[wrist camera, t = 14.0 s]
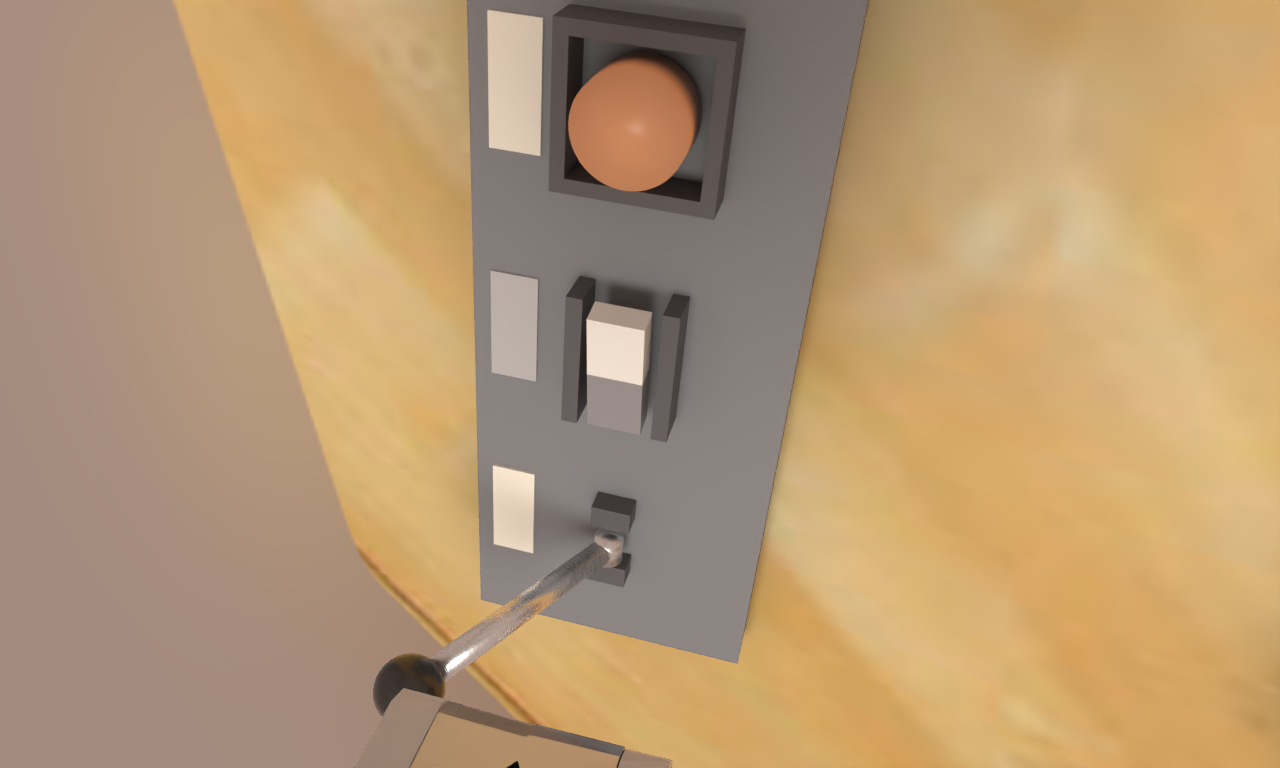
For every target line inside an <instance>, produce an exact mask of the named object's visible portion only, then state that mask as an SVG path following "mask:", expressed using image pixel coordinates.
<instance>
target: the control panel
mask: <svg viewBox="0 0 1280 768" xmlns="http://www.w3.org/2000/svg"><path fill="white" fill-rule="evenodd" d="M868 2H869V0H467V18H468V61H469V104H470V147H471V190H472V233H473V277H474V320H475V363H476V406H477V449H478V492H479V535H480V579H481V600H484V601H488V602H492V603H496V604H500V605H505V604H507V603H508V602H509V601H511V600H512V599H514V598H515V597H516V596H518V595H519V594H521V593H522V592H524V591H525V590H526V589H528V588H529V587H531V586H532V585H533V584H535V583H536V582H538V581H539V580H541V579H542V578H543V577H545V576H546V575H548V574H549V573H551V572H552V571H553V570H555V569H556V568H558V567H559V566H560V565H562V564H563V563H565V562H566V561H568V560H569V559H570V558H572V557H573V556H575V555H576V554H577V553H579V552H580V551H582V550H583V549H585V548H586V547H587V546H589V545H590V544H592V543H593V542H594V535H595V532H596V530H597V529H599V528H602V529H606V530H611V531H615V532H619V533H623V534H624V544H623V555H622V561H621V563H620V564H619V565H617V566H616V567H612V568H604V567H601V568H600V569H598V570H597V571H596V572H594V573H593V574H591V575H590V576H589V577H587V578H586V579H585V580H583V581H582V582H581V583H579V584H578V585H577V586H575V587H574V588H572V589H571V590H570V591H568V592H567V593H566V594H564V595H563V596H562V597H560V598H559V599H557V600H556V601H555V602H553V603H552V604H551V605H549V606H548V607H547V608H545V609H544V610H542V611H541V612H540V613H538V614H540V615H544V616H548V617H552V618H556V619H560V620H564V621H568V622H572V623H576V624H580V625H584V626H588V627H592V628H596V629H600V630H604V631H608V632H612V633H616V634H620V635H624V636H628V637H632V638H636V639H640V640H644V641H648V642H652V643H656V644H660V645H664V646H668V647H672V648H676V649H680V650H684V651H688V652H692V653H696V654H700V655H704V656H708V657H712V658H716V659H720V660H724V661H728V662H732V663H736V664H737V663H738V659H739V654H740V649H741V645H742V640H743V636H744V631H745V626H746V621H747V616H748V611H749V606H750V600H751V595H752V590H753V585H754V580H755V575H756V570H757V565H758V560H759V555H760V550H761V545H762V540H763V535H764V529H765V524H766V519H767V514H768V509H769V504H770V499H771V494H772V489H773V484H774V479H775V474H776V469H777V464H778V458H779V453H780V448H781V443H782V438H783V433H784V428H785V423H786V418H787V413H788V408H789V403H790V398H791V393H792V387H793V382H794V377H795V372H796V367H797V362H798V357H799V352H800V347H801V342H802V337H803V332H804V327H805V322H806V316H807V311H808V306H809V301H810V296H811V291H812V286H813V281H814V276H815V271H816V266H817V261H818V256H819V251H820V245H821V240H822V235H823V230H824V225H825V220H826V215H827V210H828V205H829V200H830V195H831V190H832V185H833V180H834V174H835V169H836V164H837V159H838V154H839V149H840V144H841V139H842V134H843V129H844V124H845V119H846V114H847V109H848V103H849V98H850V93H851V88H852V83H853V78H854V73H855V68H856V63H857V58H858V53H859V48H860V43H861V38H862V32H863V27H864V22H865V17H866V12H867V7H868ZM632 52H650V53H655V54H658V55H661V56H664V57H666V58H668V59H669V60H671V61H673V62H674V63H676V64H677V65H678V66H679V67H681V68H682V69H683V70H684V71H685V73H686V74H687V75H688V76H689V77H690V79H691V80H692V82H693V84H694V86H695V88H696V90H697V92H698V95H699V98H700V103H701V110H702V119H701V126H700V130H699V133H698V136H697V138H696V140H695V142H694V144H693V145H692V147H691V149H690V150H689V152H688V154H687V155H686V157H685V158H684V160H683V162H682V163H681V165H680V166H679V168H678V169H677V171H676V172H675V173H674V174H673V175H672V176H671V177H670V178H669V179H668V180H667V181H665V182H664V183H662V184H661V185H659V186H657V187H654V188H652V189H648V190H644V191H623V190H619V189H615V188H612V187H610V186H607V185H605V184H603V183H602V182H600V181H599V180H597V179H596V178H594V177H593V176H592V175H591V174H590V173H589V172H588V171H587V170H586V169H585V168H584V167H583V166H582V164H581V163H580V161H579V160H578V158H577V156H576V155H575V153H574V150H573V148H572V145H571V141H570V137H569V131H568V121H569V113H570V109H571V106H572V103H573V101H574V99H575V97H576V95H577V94H578V92H579V91H580V90H581V88H582V87H583V86H584V85H585V84H586V83H587V82H588V81H589V80H590V79H591V78H592V77H594V76H595V75H596V74H597V73H598V72H599V71H600V70H601V69H602V68H603V67H604V66H605V65H606V64H607V63H609V62H610V61H611V60H613V59H615V58H617V57H618V56H621V55H624V54H627V53H632ZM595 301H596V302H602V303H607V304H612V305H617V306H622V307H628V308H633V309H638V310H643V311H648V312H652V328H651V347H650V366H649V386H648V405H647V417H646V420H645V423H644V426H643V428H642V431H641V434H640V435H637V434H632V433H628V432H623V431H618V430H614V429H609V428H604V427H600V426H595V425H590V424H587V321H586V319H587V317H588V315H589V313H590V311H591V309H592V307H593V305H594V303H595Z"/></svg>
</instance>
